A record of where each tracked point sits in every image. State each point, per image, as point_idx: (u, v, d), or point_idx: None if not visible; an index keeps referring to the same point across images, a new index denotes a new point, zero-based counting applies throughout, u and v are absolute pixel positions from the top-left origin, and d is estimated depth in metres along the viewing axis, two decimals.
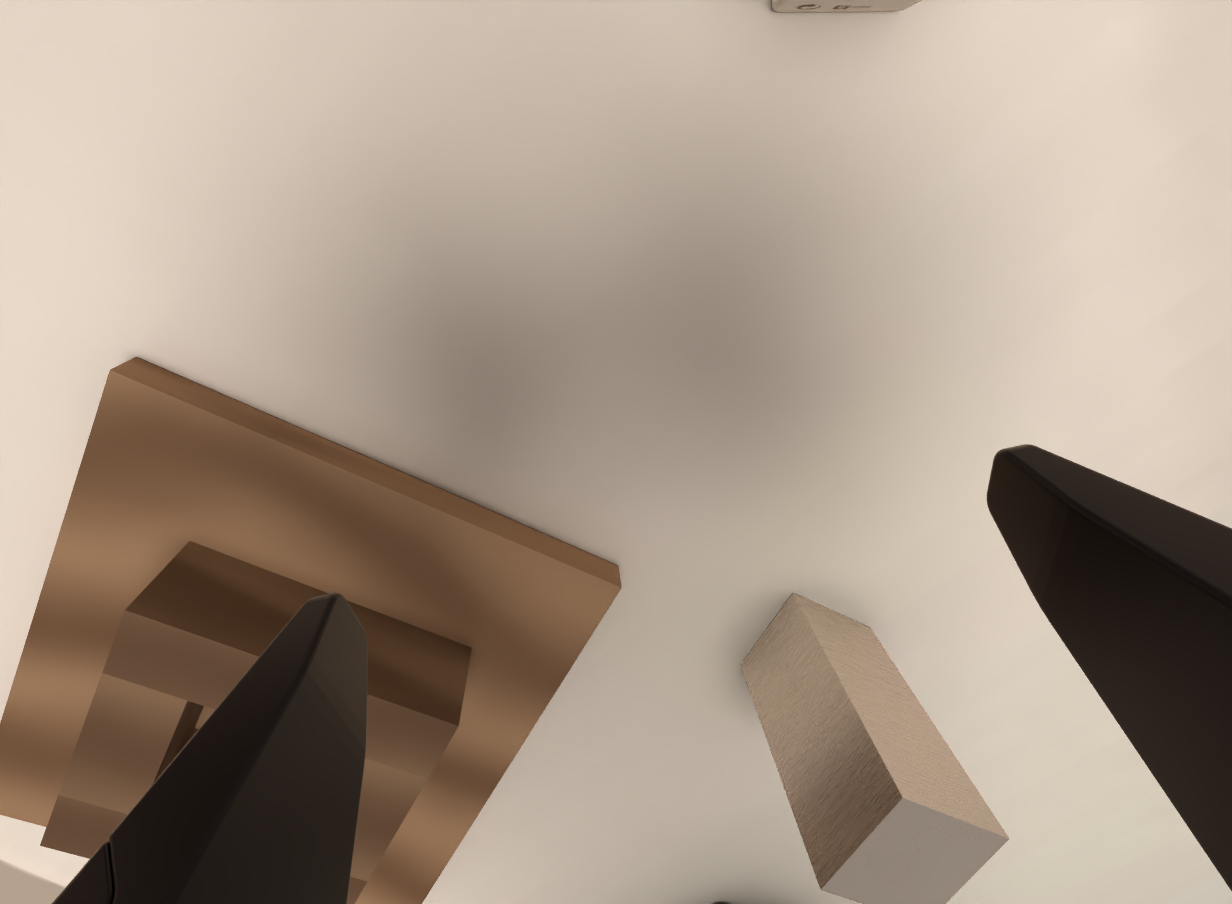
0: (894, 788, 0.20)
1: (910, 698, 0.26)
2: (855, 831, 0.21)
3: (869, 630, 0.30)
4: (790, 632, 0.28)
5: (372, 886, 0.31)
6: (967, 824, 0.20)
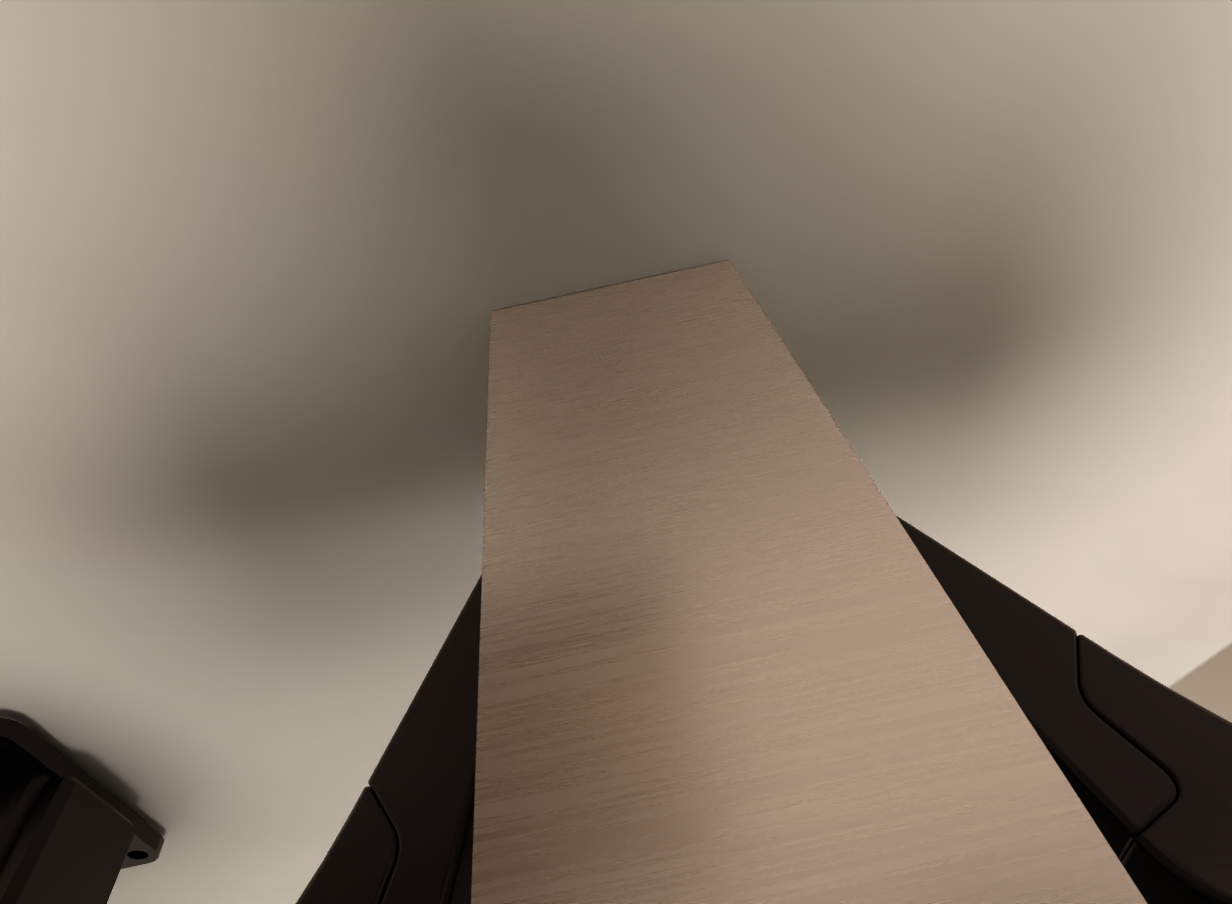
0: None
1: None
2: None
3: None
4: (690, 311, 0.11)
5: None
6: None
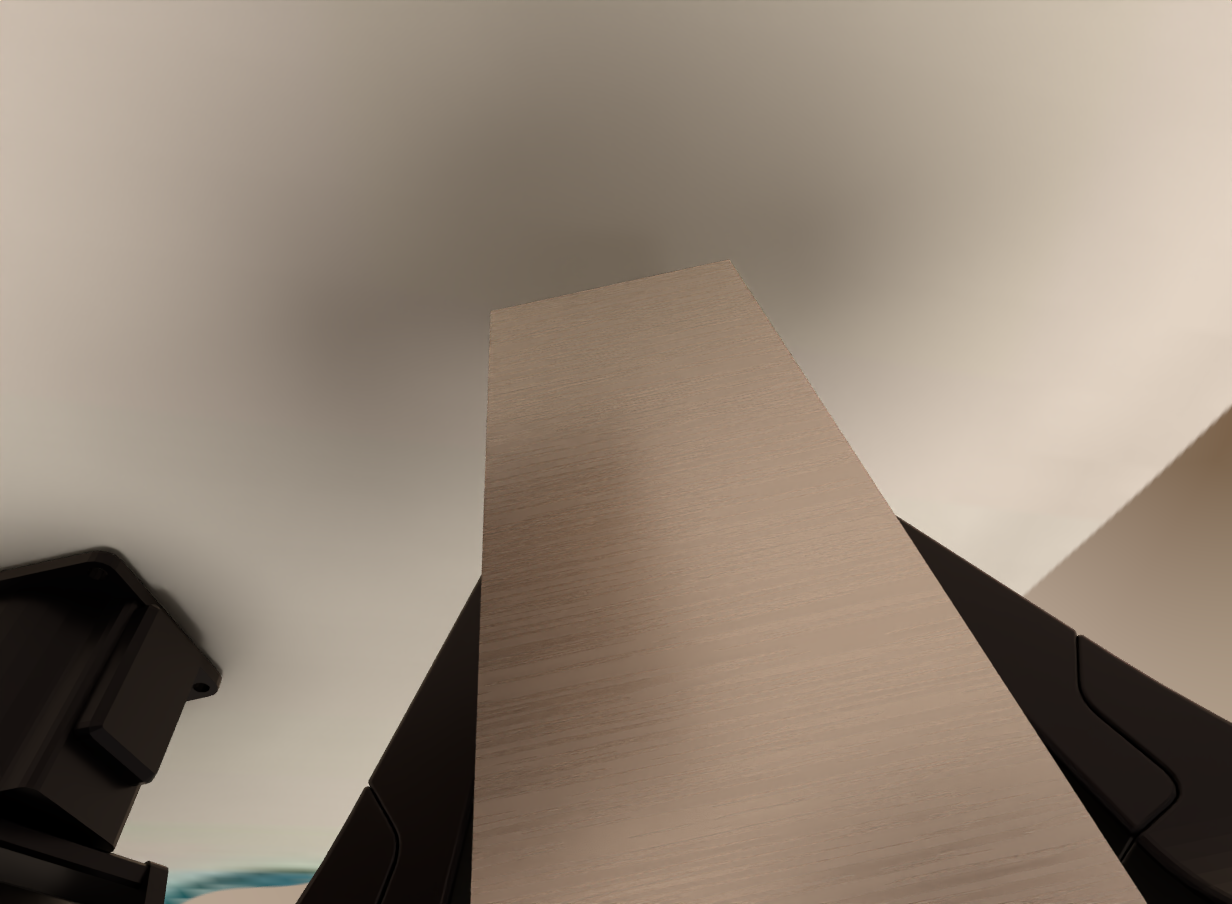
0: None
1: None
2: None
3: None
4: (690, 310, 0.11)
5: None
6: None
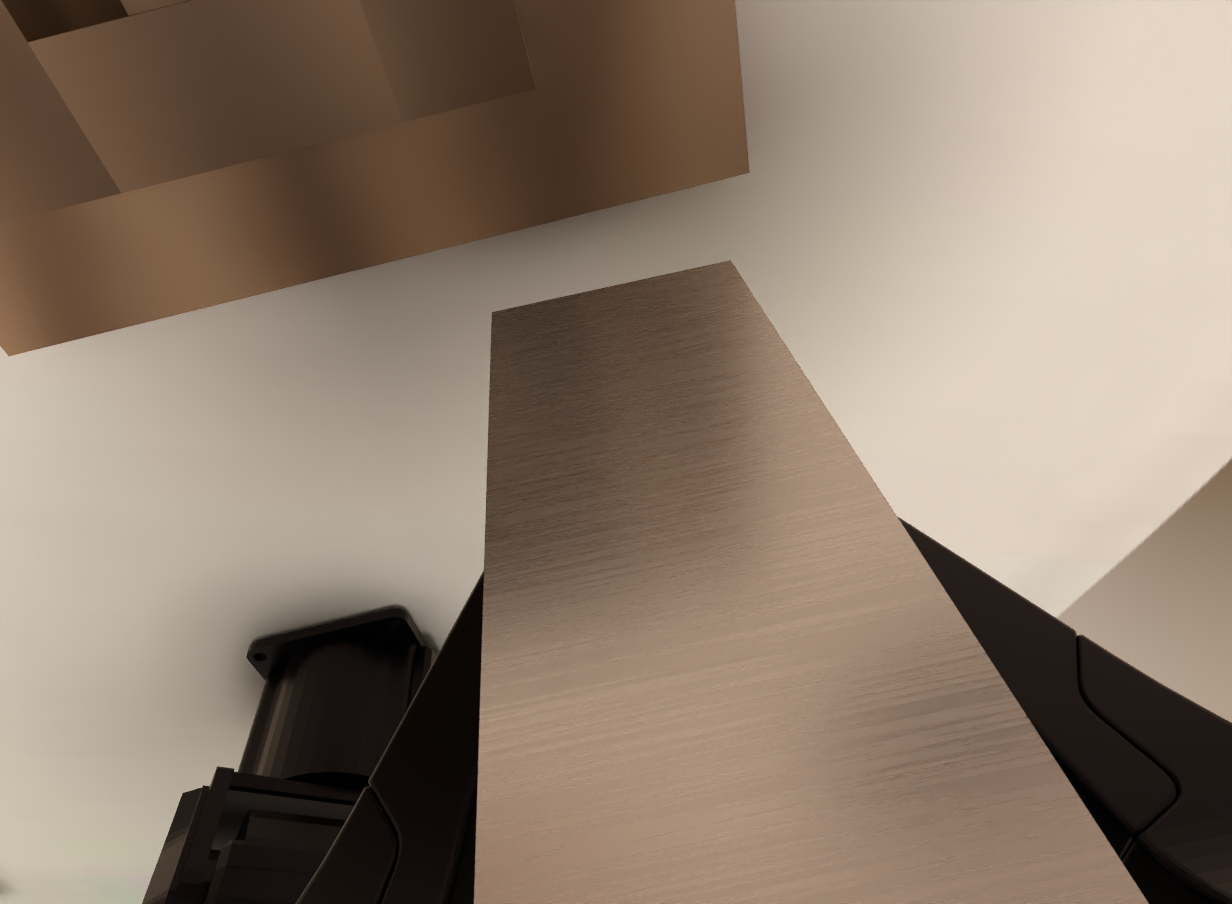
0: None
1: None
2: None
3: None
4: (691, 311, 0.11)
5: (5, 256, 0.17)
6: None
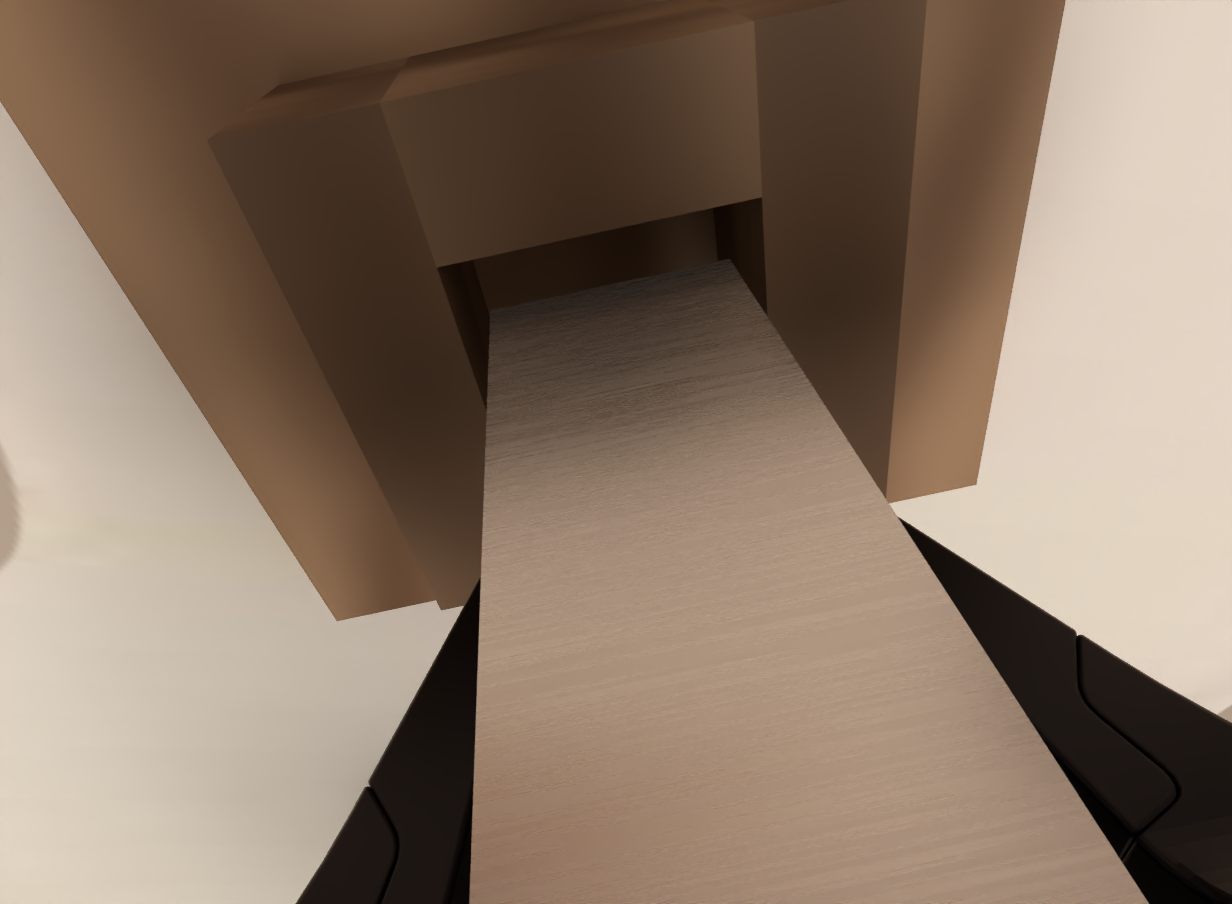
0: None
1: None
2: None
3: None
4: (690, 309, 0.11)
5: (360, 556, 0.21)
6: None
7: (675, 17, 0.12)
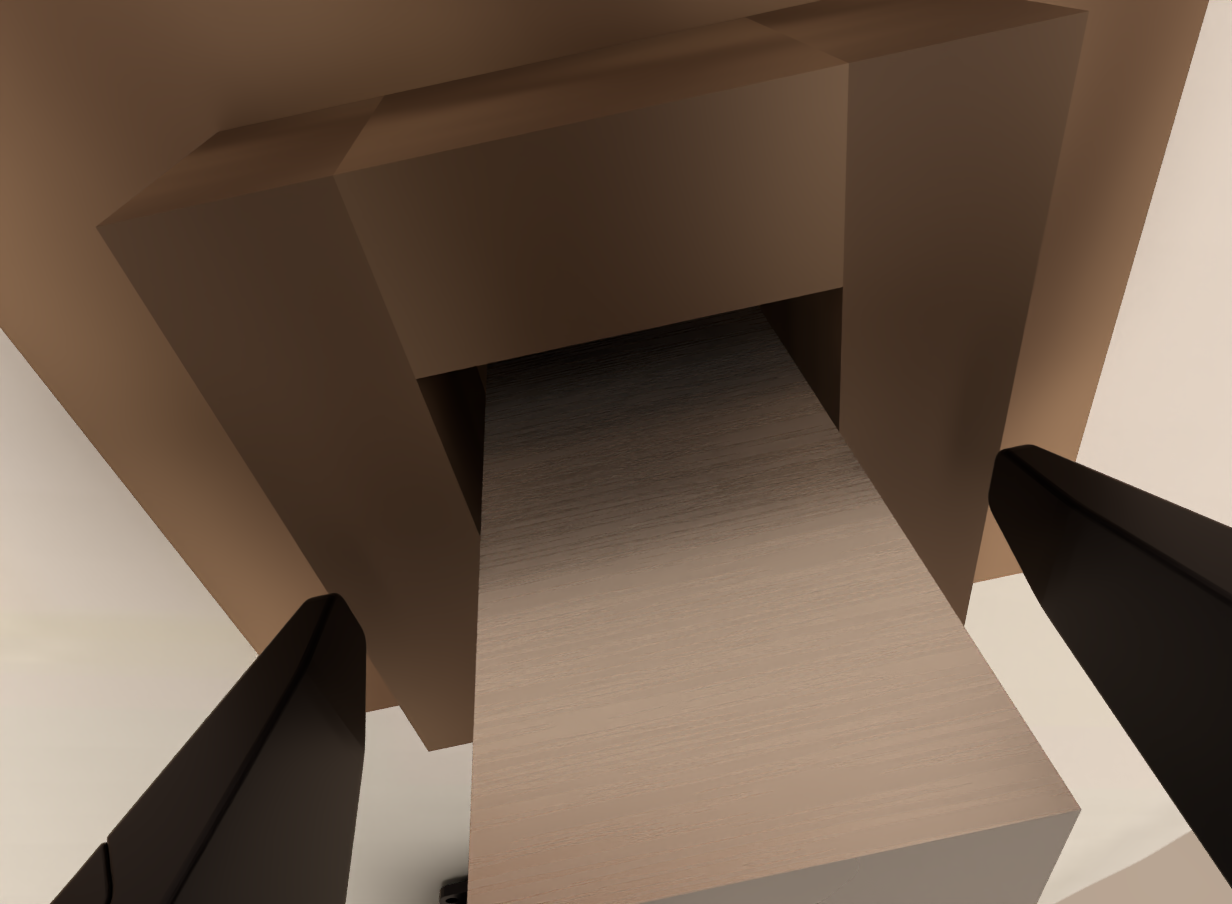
0: (1030, 755, 0.05)
1: None
2: (759, 808, 0.05)
3: None
4: None
5: None
6: None
7: (729, 51, 0.09)
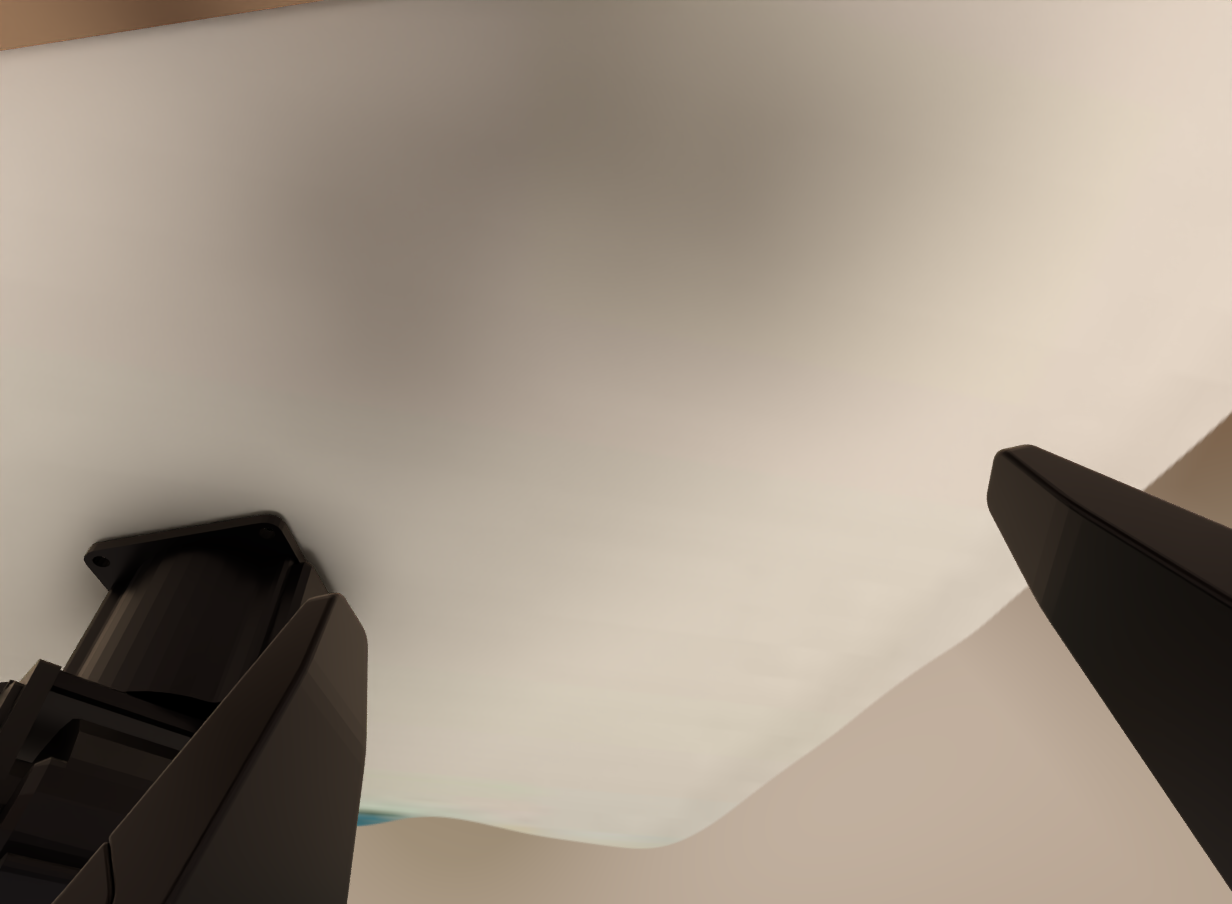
0: None
1: None
2: None
3: None
4: None
5: None
6: None
7: None
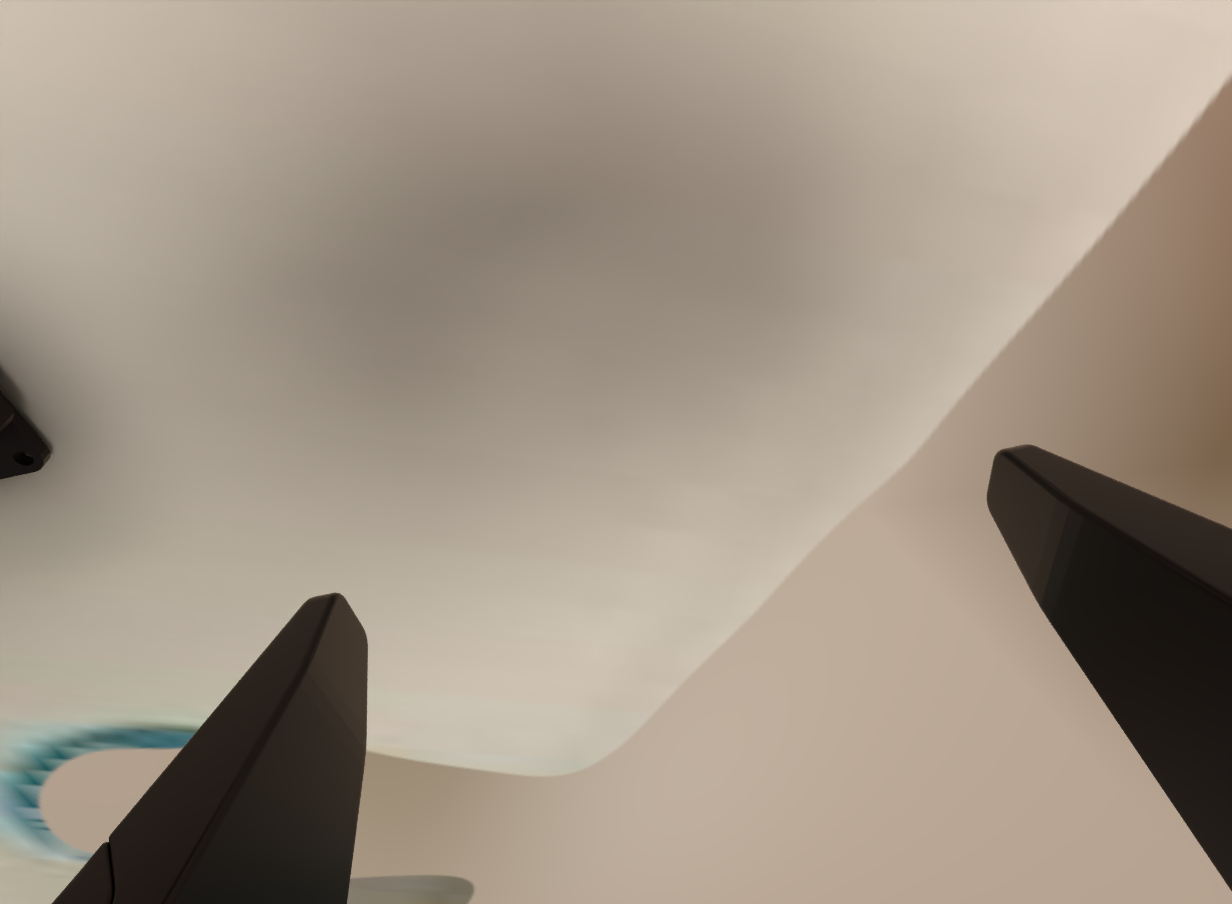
0: None
1: None
2: None
3: None
4: None
5: None
6: None
7: None
